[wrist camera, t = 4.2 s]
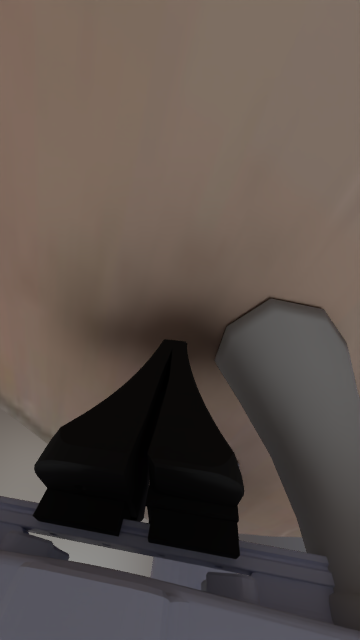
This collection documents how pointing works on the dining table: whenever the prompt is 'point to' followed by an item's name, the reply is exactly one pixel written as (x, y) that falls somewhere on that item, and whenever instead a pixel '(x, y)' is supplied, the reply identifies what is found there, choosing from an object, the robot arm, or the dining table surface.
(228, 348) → the flask
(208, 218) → the dining table surface
